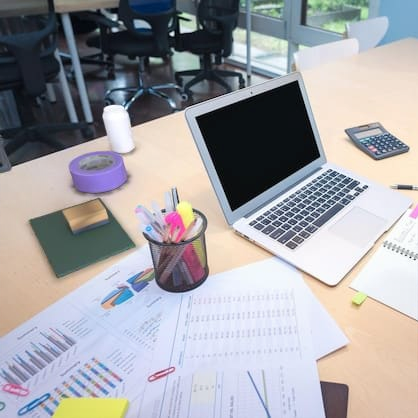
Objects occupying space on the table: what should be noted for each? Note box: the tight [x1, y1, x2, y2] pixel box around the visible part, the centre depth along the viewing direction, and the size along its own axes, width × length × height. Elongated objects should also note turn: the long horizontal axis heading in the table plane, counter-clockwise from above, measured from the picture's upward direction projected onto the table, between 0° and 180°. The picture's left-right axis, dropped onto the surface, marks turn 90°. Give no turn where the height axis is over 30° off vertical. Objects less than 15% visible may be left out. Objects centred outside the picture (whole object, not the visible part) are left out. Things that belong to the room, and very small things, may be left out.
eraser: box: [62, 199, 109, 235], centre depth 81 cm, size 7×4×4 cm, turn 132°
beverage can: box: [102, 104, 136, 154], centre depth 105 cm, size 6×6×12 cm
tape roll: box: [68, 150, 128, 194], centre depth 94 cm, size 12×12×5 cm
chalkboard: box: [28, 197, 137, 279], centre depth 80 cm, size 14×20×1 cm
